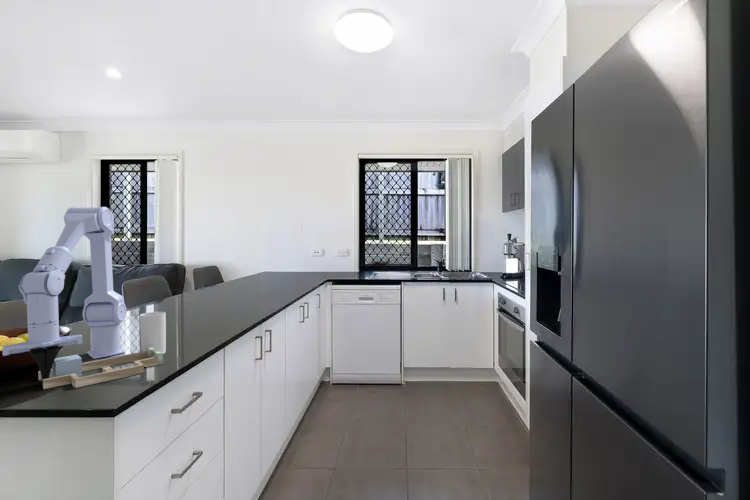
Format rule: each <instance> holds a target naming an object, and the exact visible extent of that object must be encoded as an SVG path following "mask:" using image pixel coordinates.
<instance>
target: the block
mask: <svg viewBox="0 0 750 500" xmlns="http://www.w3.org/2000/svg"><path fill="white" fill-rule="evenodd" d="M82 359H83V358H82V357H81V356H80V355H79V354H72V355H67V356H62V357H56V358H55V360H54V362H53V365H52V369H53V377H58V376H63V375H68V374H73V373H75V374H76V375H77V376H78V377H83V372H82V363H83V360H82Z"/></svg>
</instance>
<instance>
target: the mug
mask: <svg viewBox="0 0 750 500" xmlns="http://www.w3.org/2000/svg"><path fill="white" fill-rule="evenodd" d="M166 315H167V314H166V311H150V312H145V313H144V312H143V313H141V314H139V326H140V327H139V329H140V342H141V343H140V345H141V352H144V351H147V347H153V348H155V349H156V350H158V351H160V352H162V353H163V355H165V353H166V352H167V351H166V350H167V349H166V348H167V345H166V344H167V339H166V338H167V332H166V331H167V320H166V319H167V318H166Z"/></svg>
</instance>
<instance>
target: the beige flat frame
mask: <svg viewBox="0 0 750 500" xmlns="http://www.w3.org/2000/svg"><path fill="white" fill-rule="evenodd" d="M163 355H164V354H163V353H162V352H160V351H158V350H156V349H155V348H153V347H147V351H144V352H142V351H140V352H134V353H128V354H122V355H118V356H114V357H107V358H101V359H97V360H96V359H95V360H90V361H87V362H86V361H85V362H82V373H83V372H89V371H94V370H98V369H101V370H102V371H101V372H99V373H95V374H90V375H84V376H82V377H78V376H77V375H76V374H75V373H73V374H68V375H63V376H58V377H53V368H51V371H50V376H49V378H48V379H43V380H42V377H41V373H40V370H39V371H38V372H37V373H38V381H42V388H43V390H47V389H48V390H49V389H51V388H57V387H61V386H66V385H69V384H70V385H71V386H72V387H73V388H76V389H78V388H82V387H86V386H87V387H88V386H91V385H95V384H100V383H104V382H108V381H110V382H111V381H114V380H118V379H123V378H126V377H127V378H128V377H132V376H136V375H141V374H145V373H144V370H145V368H144V367H146V368H149V367H150V366H151V367H154V366H159V365H162V364H164V356H163ZM128 363H129V364H130V363H133V366H127V367H123V368H118V369H113V368H112V367H113V366H118V365H122V364H123V365H124V364H128Z"/></svg>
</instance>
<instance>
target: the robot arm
mask: <svg viewBox="0 0 750 500" xmlns="http://www.w3.org/2000/svg"><path fill="white" fill-rule="evenodd" d="M63 222H64V228H63V229H62V231H61V233H60V236H59V238H58V240H57V242H56V243H55V246H50V247H48V248H47V249H46V250H45V252H44V253H43V255H42V256H41V258H40V260H39V261H38V263H37V264H36V265H35V267H34V269H33V271H29V273H26V274H24V275H23V276H22V278H21V280H20V283H19V284H18V289H19V292H20V293H21V294H22V297H23V302H24V304H26V315H27V316H26V318H27V341H23V342H17V343H12V344H6V345H2V356H3V357H5V356H10V355H12V354H21V353H26V352H29V354H30V355H31V357H32V359H34V361H35V363H36V364H37V367H38V369H39V371H40V373H41V377H42V380H41V381H43V379H48V378H49V376H50V371H51V369H53V367H52V365H53V362H54V360H55V358H57V356H58V354H59V351H60V348H59V347H64V346H70V345H80V344H83V335H82V334H74V335H66V336H64V335H63V336H60V320H59V317H60V315H59V295H60V294H61V293H62V291H63V290H64V286H65V279H66V274H65V273H66V272H67V270H68V269H69V266H70V264H71V263H72V262H73V259H74V256H73V253H72V251H73V250H74V249H75V247H76V246H77V244H78V243H79V242H80V240H81V239H82V237H83V236H85V237H86V238H87V239H88V240H89V244H90V245H89V247H90V264H91V265H90V267H91V270H90V271H91V286H92V293H91V294H90V295H89V296H88V297H86V298H85V299H84V305H83V309H82V319H83V321H84V322H85V323H86V324H87V326H88V327H90V332H89V340H90V342H89V343H90V350H87V351H86V354H88V356H89V357H91V359H95V360H96V359H100V358H105V357H110V356H115V355H121V354H122V355H123V354H125V353H126V351H125V350H123V349H122V347H121V346H122V345H121V325H120V324H121V323H123V321H124V320H125V319H126V317H127V311H128V310H127V306H126V304H125V299H124V298H125V297H124V296H123V295H121V294H119V293H118V292H116V291H115V290H114V277H113V273H114V272H113V259H112V258H113V256H112V255H113V254H112V252H113V251H112V237H111V236H113V235H114V234H115V223H114V222H115V221H114V214H113V212H111V210H110V209H109V208H108V207H107V206H101V207H99V206H98V207H94V206H93V207H92V206H91V207H90V206H89V207H76V206H72V207H68V208H67V209H66V212H65V214H64V215H63Z"/></svg>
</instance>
